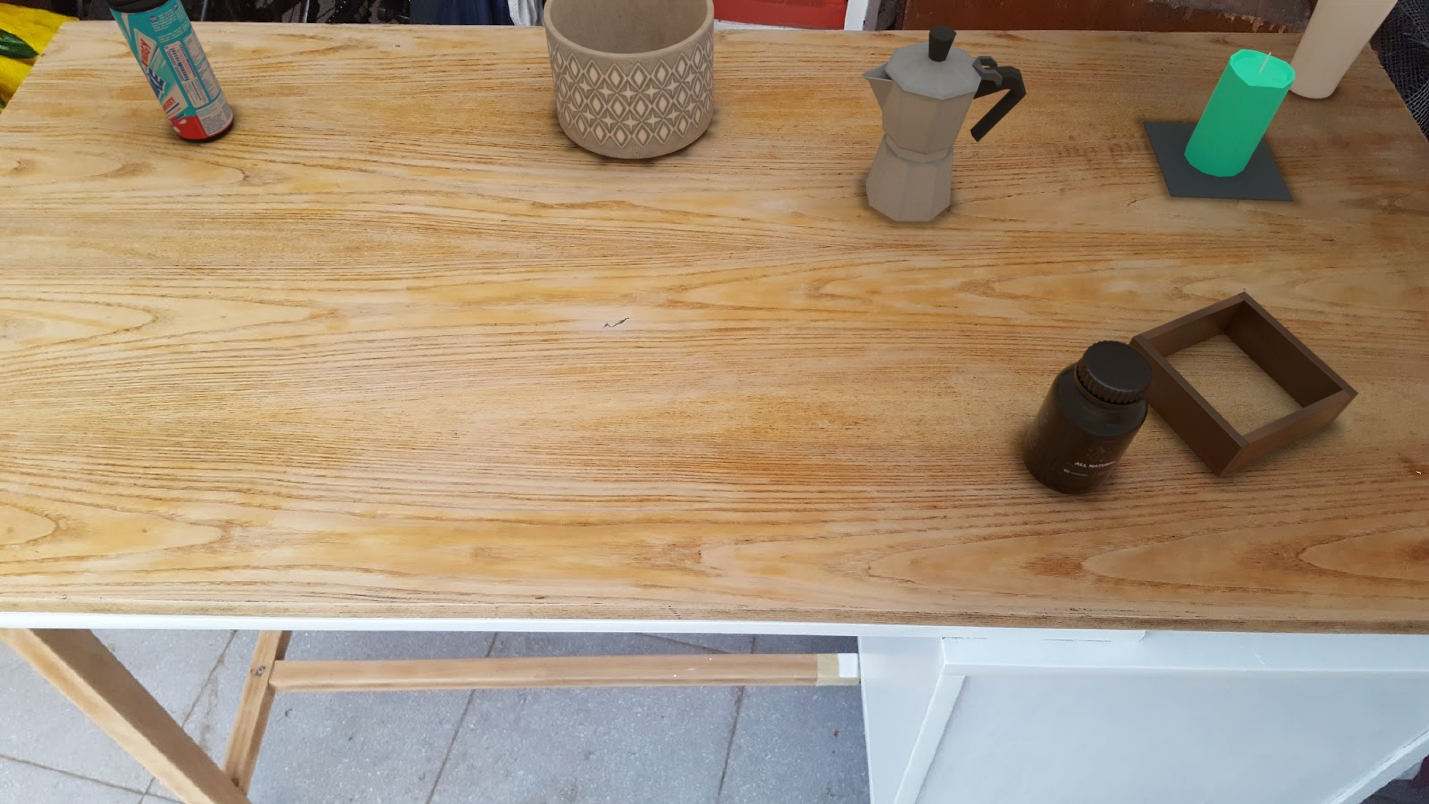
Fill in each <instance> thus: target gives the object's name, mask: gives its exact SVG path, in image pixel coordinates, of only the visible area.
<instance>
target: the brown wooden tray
mask: <svg viewBox="0 0 1429 804" xmlns="http://www.w3.org/2000/svg"><path fill="white" fill-rule="evenodd" d="M1221 334H1224V335H1225V336H1227V338H1228V339H1230V340H1231V342H1233V343H1234V344H1235V345H1236V346H1237V347H1238V348H1239V349H1240V350H1241V351H1242V352H1243V353H1244V354H1245V355H1247V357H1249V359H1251V361H1253V362H1254V363H1255V364H1256V365H1257V366H1258V367H1259V368H1260V369H1261V370H1262V371H1264V372H1265V374H1267V375H1268V377H1270V378H1271V379H1272V380H1273V381H1274V382H1275V383H1276V384H1277V385H1278V386H1279V387H1280V388H1281V389H1282V390H1283V391H1285V392H1286V393H1287V394H1288V395H1289V396H1290V397H1291V398H1292V399H1293V400H1294V401H1296V403H1297V404H1298V405H1299V406H1300V407H1302V408H1300V409H1298V410H1296V411H1293V412H1292V413H1289V414H1287V415H1285V416H1283V417H1281V418H1279V419H1276V420H1274V421H1271V422H1270V423H1267V424H1265V425H1263V426H1261V427H1259V428H1257V429H1254V430H1252V431H1250V432H1248V433H1246V434H1243V435H1241V434H1240V433H1239V432H1238V431H1237V430H1236V429H1235V428H1234V426H1232V425H1231V424H1230V422H1228V420H1226V419H1225V417H1223V416H1222V414H1220V413H1219V412H1218V410H1217V409H1215V408H1214V406H1212V405H1211V404H1210V402H1209V401H1208V400H1207V399H1206V398H1205V397H1203V396H1202V394H1201V393H1200V392H1198V390H1197V389H1195V387H1194V386H1193V385H1192V384H1191V383H1190V382H1189V381H1188V380H1187V379H1186V378H1185V377H1184V375H1182V374H1181V373H1180V372H1179V371H1178V370H1177V369H1176V368H1175V367H1174V366H1173V365H1172V364H1171V363H1170V361H1168V360H1167V359H1166V357H1168V356H1170V355H1172V354H1173V355H1174V354H1175V353H1178V352H1180V351H1183V350H1185V349H1187V348H1189V347H1192V346H1194V345H1197V344H1199V343H1202V342H1204V341H1206V340H1209V339H1211V338H1214V337H1217V336H1219V335H1221ZM1128 345H1131V346H1132V347H1134V348H1136V349H1138V350H1139V351H1140V352H1142V353H1143V355H1144V356H1145V357H1147V360H1148V361H1149V362H1150V365H1151V366H1152V371H1153V375H1152V376H1153V378H1152V381H1151V384H1150V385H1149V387H1148V389H1147V391H1146V393H1145V394H1146V397H1147V401H1148V406H1150V407H1151V408H1152V409H1153V410H1154V411H1155V412H1156V413H1157V414H1158V415H1159V417H1160V418H1161V419H1162V420H1163V421H1164V422H1165V423H1166V424H1167V425H1168V426H1169V427H1170V428H1171V429H1172V430H1173V432H1174V433H1176V435H1177V436H1178V437H1179V438H1180V439H1181V440H1182V441H1183V442H1184V443H1185V444H1186V446H1188V447H1189V448H1190V450H1191V451H1192V452H1193V453H1194V454H1195V455H1196V456H1197V457H1198V458H1199V459H1200V460H1201V462H1202V463H1204V465H1206V467H1207V468H1208V469H1209V470H1210V471H1211V472H1212V473H1213V474H1214V475H1215V476H1216V477H1217V478H1220V477H1222V476H1224V475H1226V474H1228V473H1230V472H1233V471H1234V470H1236V469H1238V468H1241V467H1243V466H1245V465H1248V464H1250V463H1252V462H1254V461H1256V460H1258V459H1260V458H1262V457H1265V456H1266V455H1269V454H1271V453H1273V452H1275V451H1277V450H1279V449H1281V448H1283V447H1286V446H1288V445H1291V444H1292V443H1294V442H1296V441H1299V440H1300V439H1302V438H1305V437H1307V436H1309V435H1311V434H1313V433H1315V432H1318V431H1320V430H1322V429H1324V428H1326V427H1329V426H1331V425H1332V424H1333V423H1334V421H1335V420H1337V418H1338V417H1339V416H1340V415H1341V414H1342V413H1343V412H1344V411H1345V410H1346V408H1347V407H1348V406H1349V405H1350V404H1351V403H1352V401H1354V399H1355V398H1356V397H1358V395H1359V392H1358V391H1357V390H1356V389H1355V388H1354V387H1353V386H1352V385H1350V384H1349V383H1348V382H1347V381H1346V380H1345V379H1344V378H1343V377H1342V376H1341V375H1339V374H1338V373H1337V372H1336V371H1335V370H1334V369H1333V368H1331V367H1330V366H1329V365H1328V364H1327V363H1326V362H1325V361H1324V360H1322V359H1321V358H1320V357H1319V356H1318V355H1317V354H1316V353H1314V352H1313V350H1311V349H1310V348H1309V347H1308V346H1307V345H1306V344H1305V343H1303V341H1301V340H1300V339H1299V338H1298V337H1297V336H1296V335H1295V334H1293V333H1292V332H1291V331H1290V330H1289V329H1288V328H1287V327H1285V326H1284V325H1283V324H1282V323H1281V322H1280V321H1278V319H1276V318H1275V317H1274V316H1273V315H1272V314H1271V313H1270V312H1269V311H1268V310H1267V309H1266V308H1264V307H1263V306H1262V305H1261V304H1260V303H1259V302H1257V300H1255V299H1254V298H1253V297H1252V296H1251V295H1249V293H1248V292H1246V291H1241V292H1239V293H1238V294H1235V295H1233V296H1230V297H1228V298H1225V299H1223V300H1220V301H1217V302H1215V303H1213V304H1210V305H1208V306H1206V307H1203V308H1200V309H1198V310H1196V311H1193V312H1191V313H1188V314H1185V315H1183V316H1181V317H1178V318H1176V319H1173V320H1171V321H1168V322H1166V323H1163V324H1161V325H1157V326H1156V327H1154V328H1151V329H1149V330H1146V331H1143V332H1141V333H1138V334H1136V335H1133V336H1132V337H1131V339H1130V341H1129V343H1128Z"/></svg>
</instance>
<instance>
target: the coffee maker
mask: <svg viewBox="0 0 1429 804" xmlns="http://www.w3.org/2000/svg"><path fill="white" fill-rule="evenodd" d="M956 36H957V31H956V30H955V29H953V28H952V27H950V26H946V25H941V24H940V25H936V26H932V27H931V28H930V30H929V32H928V40H925V41H921V42H918V43H913V44H908V45H906V46H902V47H897V48H894V50H893V52H892V54H891V56H890V57H889V60H888V61H886V62H884V63H882V64H880V65H878V66H876V67H874V68H872V69H870V70H867V71H865V72H864V73H861V74H860V77H861V78H862V79H864V80H866V81H868V83H869V86H870V87H871V90H872V93H873V95H874V96H875V99H876V101H877V103H878V106H879V108H880V110H881V120H882V121H881V122H882V130H883V132H884V134H883V135H882V137H881V141H880V143H879V145H878V148H877V150H876V154H875V156H874V159H873V161H872V163H871V167H870V169H869V171H868V174H867V177H866V180H865V183H864V185H865V189H866V190H865V192H866V197H867V202H868V206H869V207H871V208H872V209H875V210H876V211H877V212H879V213H881V214H883V215H884V216H886V217H887V218H889V219H891V220H893V221H895V222H931V221H932V220H933V219H934V218H935V217H937V216H938V215H939V214H940V213H942V212H943V211H944V210H945V209H947V208H948V207H949V206H950V205H951V195H952V179H953V178H952V177H953V164H954V146H955V143H956V142H957V138H958V136H959V134H960V132H961V129H962V127H963V124H964V122H965V120H966V117H967V115H968V112H969V109H970V108H971V105H972V102H973V100H976V99H979V98H984V97H986V96H989V95H992V94H995V93H999V92H1002V91H1004V90H1005V91H1006V90H1008V91H1007V92H1006V93H1005V94H1004V96H1002V97H1001V98H1000V100H998V102H996V104H994V106H992V107H991V108H990V109H989V110H988V111H987V112H986V113H985V115H983V116H982V117H981V118H980V120H978V121H977V122H976V123H975V124H974V126H972V127H971V128H970V129H969V131H970V132H969V133H970V135H971V137H972V139H974V140H975V141H976V143H979V142H980V141H981V140H982V139H983V138H984V137H985V136H986V135H987V134H988V133H989V132H990V131H992V129H993V128H995V126H996V125H998V123H999V122H1001V120H1002V119H1003V118H1004V117H1006V115H1008V114H1009V113H1010V112H1011V111H1012V109H1014V108H1015V107H1016V106H1017V105H1018V104H1019V103H1020V102H1021V101H1022V100H1023V99H1024V98H1025V97H1026V95H1027V90H1026V86H1025V83H1024V79H1023V76H1022V73H1021V69H1020V68H1017V67H1014V66H1012V65H1001V66H998V62H997V61H996V59H994V57H992V55H977V57H976V58H974V57H973V56H972V55H970V54H969V52H967V51H966V50H965V48H960V47H956V46H953V43H954V41H955V38H956Z"/></svg>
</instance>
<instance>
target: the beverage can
mask: <svg viewBox="0 0 1429 804" xmlns="http://www.w3.org/2000/svg"><path fill="white" fill-rule="evenodd" d="M105 3H106V5H107V7H108V8H109V10H110V13H111V15H112V16H113V19H114V20H115V22H116V24H117V26H118V28H119V30H120V31H121V33H122V35H123V37H124V39H125V41H126V43H127V45H128V47H129V49H130V51H131V53H132V54H133V56H134V59H135V60H136V61H137V63H138V65H139V67H140V69H141V72H142V73H143V75H144V76H145V78H146V80H147V82H148V84H149V86H150V87H151V89H152V91H153V93H154V95H155V97H156V99H157V100H158V102H159V104H160V106H161V108H162V110H163V112H164V114H165V116H166V117H167V120H168V121H169V123H170V125H171V126H172V128H173V130H174V132H175V133H176V134H177V136H179V137H180V138H181V139H183V140H185V141H187V142H189V143H190V142H191V143H207V142H211V141H214V140H216V139H219V138H220V137H223V136H225V134H227V133H228V132H229V131H230V130H231V129H232V127H233V125H234V113H233V110H232V109H231V106H230V104H229V102H228V100H227V97H226V96H225V93H224V91H223V89H222V87H221V85H220V83H219V81H218V78H217V76H216V75H215V72H214V70H213V68H212V65H211V63H210V61H209V59H208V57H207V55H206V52H205V51H204V48H203V46H202V43H201V41H200V40H199V38H198V35H197V33H196V31H195V29H194V27H193V25H192V23H191V21H190V19H189V16H188V14H187V12H186V10H185V8H184V6H183V4H182V2H181V0H105Z"/></svg>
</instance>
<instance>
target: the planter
mask: <svg viewBox="0 0 1429 804" xmlns="http://www.w3.org/2000/svg"><path fill="white" fill-rule="evenodd" d="M542 14H543V15H542V16H543V24H544V31H545V37H546V44H547V51H548V57H549V58H548V59H549V65H550V72H551V78H552V86H553V92H554V99H555V106H556V112H557V119H558V123H559V125H560V127H561V129H562V131H563V132H564V133H565V135H566V136H567V137H568V138H569V139H570V140H571V141H573V142H574V143H575V144H577V145H578V146H580V147H581V148H582V149H585V150H587V151H590V152H592V153H595V154H598V155H601V156H604V157H605V156H606V157H611V158H617V159H627V160H628V159H632V160H633V159H634V160H639V159H649V158H656V157H660V156H661V157H662V156H665V155H668V154H671V153H674V152H677V151H679V150H681V149H683V148H686V147H687V146H688V145H690V144H692V143H694V142H695V141H696V140H698V138H700V137H701V136H702V135H703V134H704V133H705V132H706V130H707V129H708V127H709V126H710V124H711V121H712V119H713V115H714V71H715V70H714V68H715V67H714V66H715V64H714V63H715V61H714V60H715V59H714V56H715V55H714V54H715V51H714V50H715V41H714V40H715V6H714V2H713V0H546V1H545V3H544V6H543V12H542Z"/></svg>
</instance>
